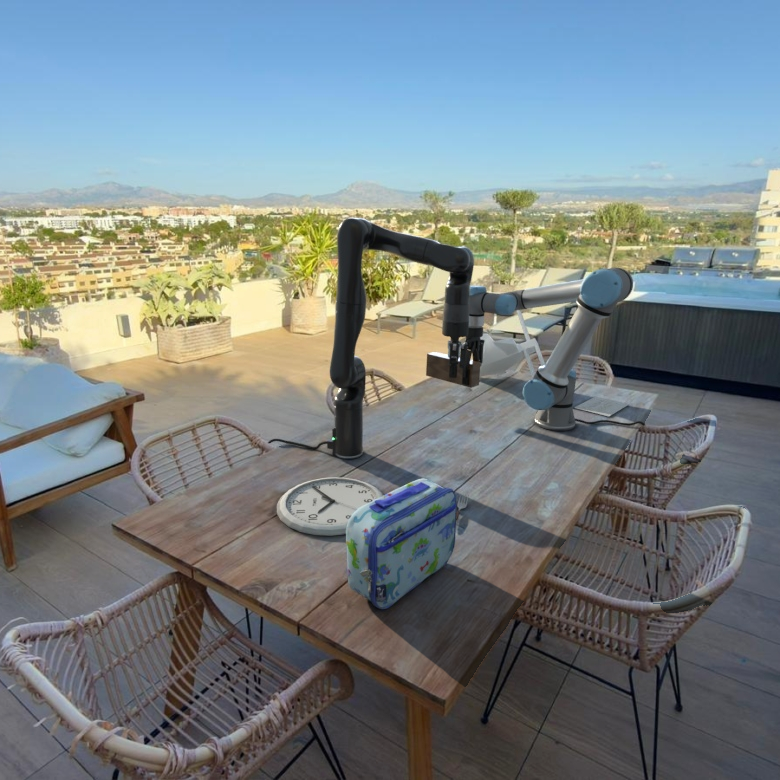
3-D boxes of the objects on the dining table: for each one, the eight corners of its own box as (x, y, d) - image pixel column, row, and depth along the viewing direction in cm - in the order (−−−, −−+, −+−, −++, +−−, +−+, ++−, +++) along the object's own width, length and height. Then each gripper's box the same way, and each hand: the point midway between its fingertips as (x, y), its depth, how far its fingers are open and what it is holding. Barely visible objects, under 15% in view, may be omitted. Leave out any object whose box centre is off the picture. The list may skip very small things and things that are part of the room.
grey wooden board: (608, 416, 214) (573, 407, 224) (608, 416, 214) (573, 408, 224) (628, 404, 229) (594, 396, 238) (628, 405, 229) (594, 397, 238)
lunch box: (375, 622, 100) (376, 527, 94) (339, 595, 108) (338, 505, 101) (459, 565, 118) (465, 481, 112) (424, 545, 125) (427, 465, 119)
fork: (445, 528, 132) (446, 521, 132) (459, 499, 147) (460, 493, 146) (455, 530, 132) (456, 523, 131) (468, 501, 146) (469, 494, 145)
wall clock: (392, 527, 129) (268, 531, 127) (391, 533, 130) (269, 537, 127) (383, 473, 158) (282, 475, 155) (383, 478, 158) (282, 480, 156)
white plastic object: (486, 418, 266) (465, 396, 241) (467, 346, 288) (447, 318, 263) (557, 395, 254) (543, 368, 229) (531, 321, 276) (517, 290, 251)
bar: (478, 385, 211) (480, 362, 208) (471, 387, 207) (473, 364, 204) (433, 373, 226) (435, 351, 223) (425, 375, 222) (426, 353, 219)
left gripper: (443, 314, 157) (440, 366, 161) (442, 322, 143) (439, 379, 148) (468, 315, 156) (465, 368, 161) (469, 323, 142) (466, 380, 147)
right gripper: (478, 322, 213) (475, 376, 220) (451, 327, 200) (448, 385, 207) (494, 324, 208) (490, 380, 215) (467, 330, 195) (464, 389, 202)
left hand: (452, 373), depth 154 cm, fingers open, 8 cm apart
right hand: (469, 382), depth 211 cm, fingers closed on bar, 5 cm apart
